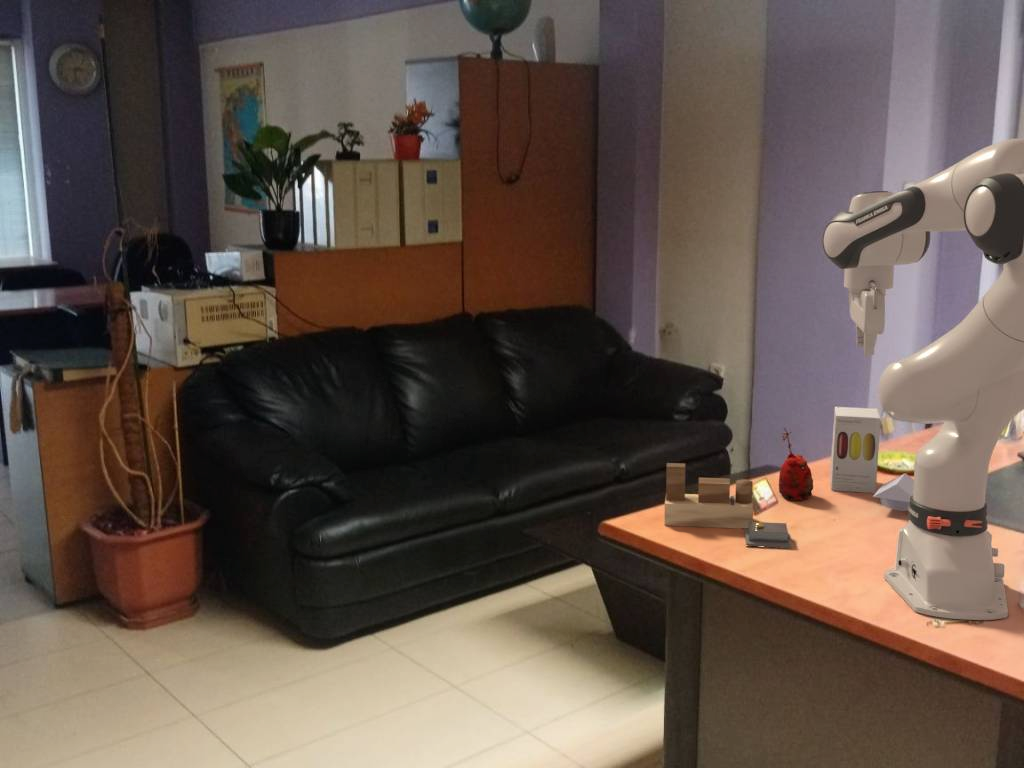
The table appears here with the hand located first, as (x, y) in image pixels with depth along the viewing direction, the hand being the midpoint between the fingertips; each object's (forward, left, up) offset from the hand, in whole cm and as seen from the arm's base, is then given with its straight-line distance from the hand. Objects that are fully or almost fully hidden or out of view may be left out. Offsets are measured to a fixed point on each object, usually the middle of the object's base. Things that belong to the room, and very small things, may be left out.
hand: (864, 350), depth 196 cm
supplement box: (+22, -2, -34) cm, 41 cm away
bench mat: (-14, +18, -34) cm, 41 cm away
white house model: (+9, -10, -34) cm, 37 cm away
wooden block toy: (-5, +29, -34) cm, 45 cm away
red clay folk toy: (+13, +11, -34) cm, 38 cm away
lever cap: (-14, +18, -34) cm, 41 cm away
